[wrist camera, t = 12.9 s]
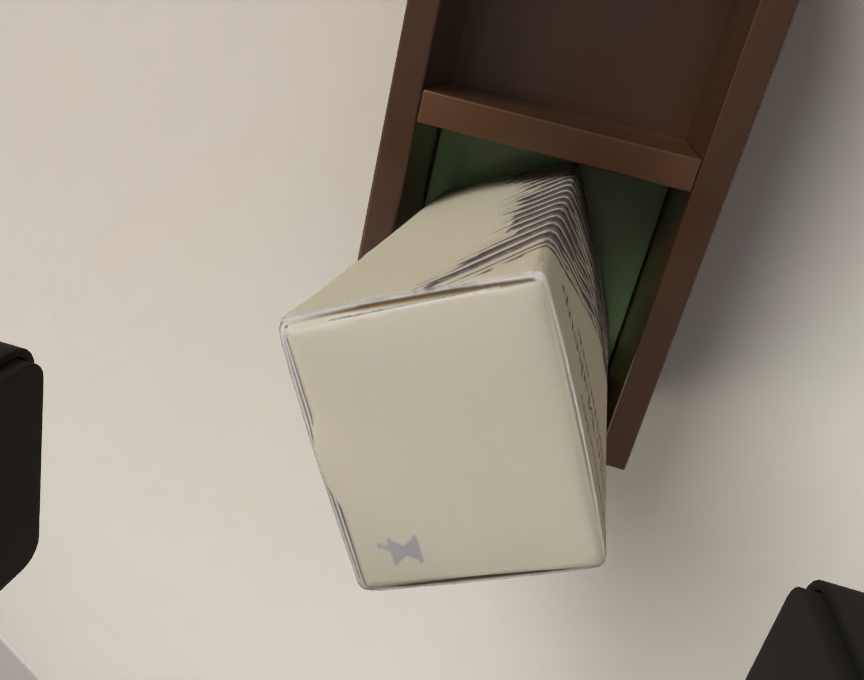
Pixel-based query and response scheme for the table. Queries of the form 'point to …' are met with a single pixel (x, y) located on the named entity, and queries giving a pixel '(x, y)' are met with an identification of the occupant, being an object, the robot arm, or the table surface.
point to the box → (464, 388)
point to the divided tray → (587, 139)
